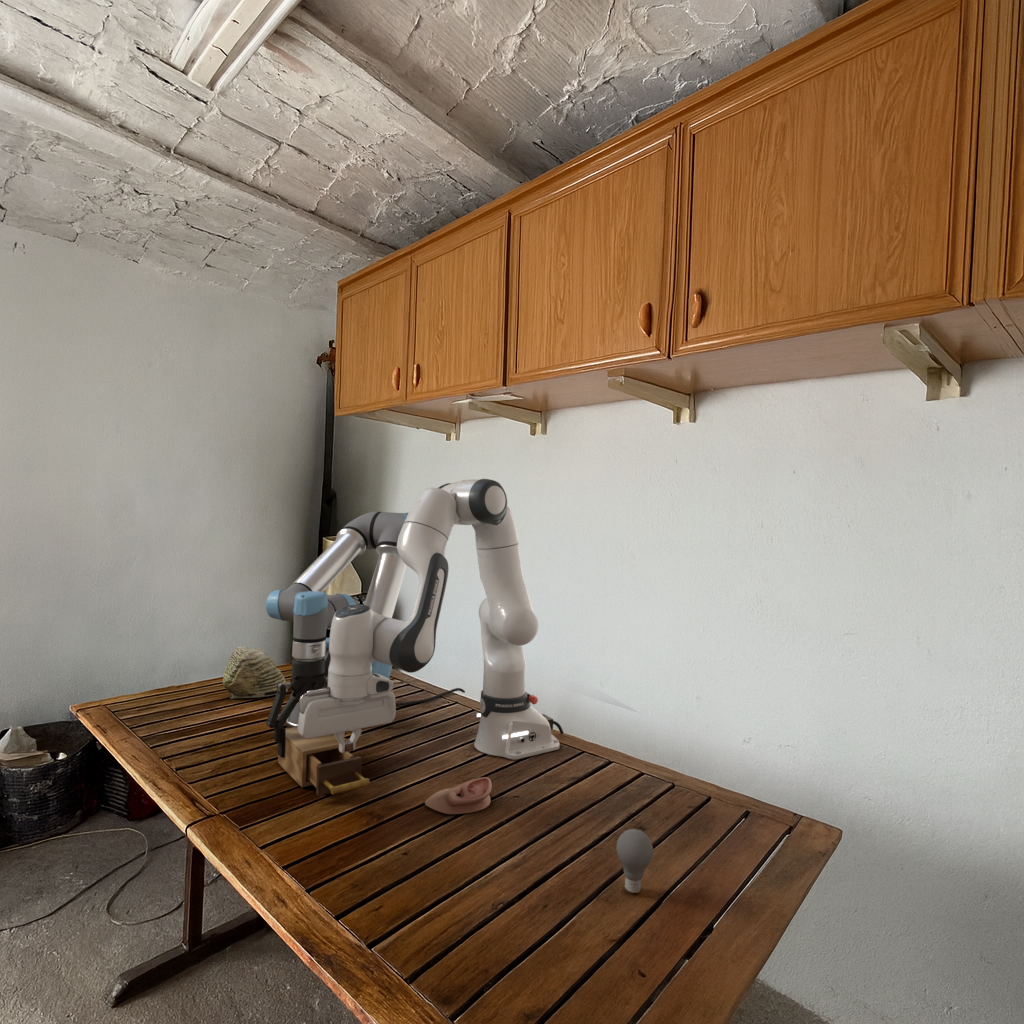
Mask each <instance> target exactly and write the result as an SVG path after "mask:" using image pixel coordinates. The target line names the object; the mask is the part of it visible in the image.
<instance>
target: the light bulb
mask: <svg viewBox="0 0 1024 1024" xmlns="http://www.w3.org/2000/svg"><path fill="white" fill-rule="evenodd" d="M615 849H616V854H617V857H618V859H619V861H620V863H621V865H622V867H623V873H624V874H623V875H624V876H625V878H624V888H625V890H627V891H628V892H630V893H634V894H635V893H639V892H640V891H641V889H642V887H641V886H642V879H643V877H644V875H645V871H646V868H647V867H648V866H649V864H650V863H651V861H652V859H653V855H654V847H653V843H652V841H651V838H649V836H648V835H647V834H646V833H645V832H643V831H642V830H641V829H636V828H629V829H627V830H625V831H623V832H622V833H621V834H620V835H619V837H618V839H617V841H616V847H615Z"/></svg>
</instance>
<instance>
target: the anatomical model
mask: <svg viewBox="0 0 1024 1024" xmlns="http://www.w3.org/2000/svg"><path fill="white" fill-rule="evenodd" d="M492 789H493V785H492V780H491V778H490V777H487V776H484V777H482V776H481V777H479V778H474V779H471V780H469V781H466V782H464V783H461V784H459V785H456V786H454V787H451V788H445V789H441V790H439V791H437V792H434V793H433V794H432V795H430V796H429V797H428V798H427V799H426V800H425V801H424V805H425V806H426V807H428V808H430V809H431V810H434V811H436V812H438V813H440V814H441V813H442V814H445V815H462V814H469V813H475V812H479V811H482V810H484V809H486V808H488V807H489V806H490V804H491V796H490V794H491V792H492Z"/></svg>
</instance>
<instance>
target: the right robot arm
mask: <svg viewBox="0 0 1024 1024" xmlns="http://www.w3.org/2000/svg"><path fill="white" fill-rule="evenodd" d="M407 513H408V515H407V517H406V519H405V522H404V524H403V526H402V529H401V531H400V534H399V537H398V541H397V550H398V553H399V556H400V558H401V559H402V561H403V562H404V563H405V564H406V565H407V567H408V568H409V569H411V570H412V571H414V572H415V573H416V574H417V577H418V580H419V585H418V590H417V593H416V599H415V602H414V606H413V611H412V614H411V617H410V618H409V619H408V620H407V621H405V620H401V619H396V618H393V617H392V618H389V617H386V616H382V615H380V614H378V613H376V612H374V611H373V610H371V608H370V607H369V606H367V605H364V604H362V603H361V604H356V603H355V604H356V605H349V606H345V607H342V608H340V609H339V610H337V611H336V612H335V614H334V617H333V620H332V624H331V627H330V631H329V638H330V640H329V652H330V656H331V661H330V665H329V668H328V688H322V689H318V690H310V691H307V693H305V694H304V695H302V697H301V698H300V700H299V710H300V714H299V720H298V732H299V734H300V735H301V736H302V737H304V738H305V739H311V738H316V737H321V736H326V735H331V734H334V735H335V737H336V739H337V740H338V742H339V751H340V752H341V753H344V752H348V751H349V752H352V751H355V750H356V745H357V742H358V740H359V738H360V736H361V735H362V729H367V728H372V727H376V726H381V725H387V724H392V723H393V722H394V720H395V718H396V715H397V714H396V713H397V706H396V703H397V702H396V696H395V693H394V692H393V689H394V684H395V683H394V682H393V680H391V679H390V678H389V679H388V678H386V677H384V676H382V675H380V674H375V673H372V663H373V662H375V661H379V662H381V663H384V664H388V665H391V666H392V667H394V668H397V669H398V670H401V671H403V672H406V673H410V674H411V673H416V672H419V671H420V670H422V669H423V668H425V667H426V666H427V665H428V664H429V662H431V660H432V658H433V656H434V654H435V650H436V639H437V629H438V623H439V620H440V619H439V618H440V615H441V610H442V605H443V601H444V597H445V593H446V588H447V583H448V578H449V568H450V567H449V562H448V560H447V558H446V549H447V545H448V542H449V539H450V536H451V534H452V530H453V527H454V526H455V525H456V526H472V528H473V530H474V537H475V548H476V555H477V563H478V570H479V578H480V581H481V583H482V586H483V589H484V592H485V598H484V599H483V600H482V601H481V602H480V604H479V607H478V618H479V623H480V636H481V637H480V638H481V647H482V655H483V673H482V675H483V676H482V689H481V691H480V700H479V710H480V711H479V712H480V713H476V718H479V724H478V729H477V733H476V737H475V740H474V742H473V746H474V748H475V749H476V750H477V751H478V752H481V753H483V754H486V755H490V756H495V757H501V758H502V757H503V758H506V759H508V760H513V761H514V760H515V761H516V760H520V759H525V758H528V757H532V756H537V755H541V754H546V753H549V752H553V751H557V750H560V747H561V745H560V741H559V740H558V738H557V737H556V736H555V735H553V734H552V730H553V729H554V726H556V727H557V728H558V731H559V733H560V735H563V734H564V729H563V727H562V726H561V724H560V723H559V722H557V721H555V720H554V719H553V717H550V716H548V715H547V714H545V713H540V712H539V711H538V710H537V709H536V708H534V707H533V706H532V705H537V703H538V702H539V698H538V697H537V696H535V695H534V694H531V693H530V692H528V691H526V674H527V661H526V658H525V654H524V650H523V649H524V648H523V646H525V645H527V644H529V643H531V642H532V641H533V640H534V639H535V637H536V635H537V634H538V631H539V620H538V618H537V617H538V616H537V615H536V613H535V611H534V608H533V605H532V600H531V597H530V593H529V590H528V587H527V583H526V580H525V577H524V571H523V566H522V565H523V564H522V558H521V551H520V544H519V536H518V531H517V526H516V523H515V519H514V516H513V513H512V510H511V508H510V507H509V506H508V497H507V493H506V491H505V489H504V487H503V486H502V485H501V483H499V481H496V480H493V479H490V478H480V479H463V480H461V481H455V482H452V483H450V482H449V483H445V484H442V485H440V486H438V487H428V488H425V489H424V490H422V491H421V492H420V493H419V495H418V496H417V497H416V500H415V501H414V503H413V504H412V506H411V508H410V509H409V511H408V512H407ZM306 695H307V696H306ZM531 704H532V705H531ZM346 732H352V733H351V735H350V738H349V739H347V741H343V739H342V737H344V738H345V735H346V734H345V733H346Z"/></svg>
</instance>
